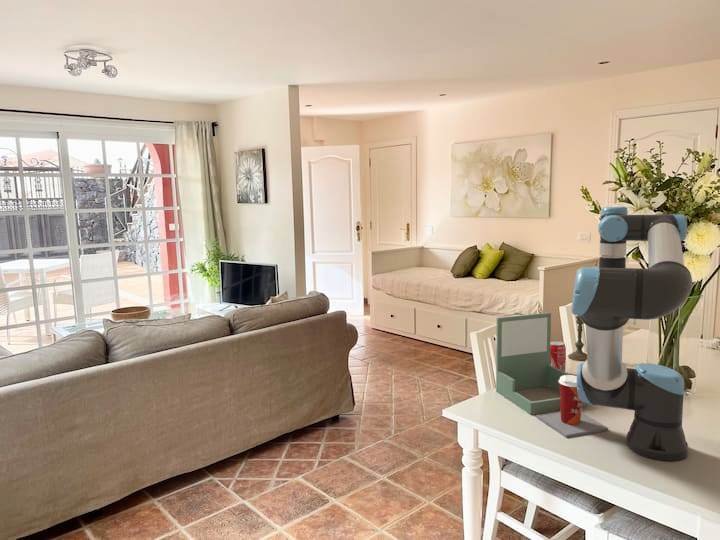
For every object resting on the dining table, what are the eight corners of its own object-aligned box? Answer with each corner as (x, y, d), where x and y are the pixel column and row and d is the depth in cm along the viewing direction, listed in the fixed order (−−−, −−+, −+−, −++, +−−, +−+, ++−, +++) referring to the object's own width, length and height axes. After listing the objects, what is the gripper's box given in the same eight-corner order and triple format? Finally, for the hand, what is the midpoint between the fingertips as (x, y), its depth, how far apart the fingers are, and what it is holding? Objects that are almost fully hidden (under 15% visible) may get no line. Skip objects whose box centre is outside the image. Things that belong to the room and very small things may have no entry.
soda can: (567, 372, 209) (567, 341, 207) (563, 378, 203) (563, 346, 201) (548, 370, 213) (549, 339, 211) (544, 375, 207) (545, 343, 205)
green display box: (587, 406, 176) (589, 325, 172) (530, 414, 170) (531, 332, 166) (547, 384, 197) (549, 312, 193) (496, 391, 191) (496, 317, 187)
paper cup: (580, 428, 157) (581, 384, 155) (554, 422, 162) (555, 379, 160) (586, 419, 163) (588, 377, 162) (561, 414, 168) (562, 372, 166)
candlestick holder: (589, 355, 230) (591, 289, 226) (591, 361, 222) (593, 293, 218) (567, 354, 233) (568, 288, 229) (568, 360, 224) (570, 292, 220)
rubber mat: (608, 430, 157) (608, 427, 157) (565, 437, 153) (566, 435, 153) (575, 411, 172) (575, 409, 172) (536, 417, 168) (536, 415, 168)
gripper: (657, 255, 160) (654, 322, 163) (570, 254, 171) (569, 316, 174) (659, 258, 153) (655, 328, 156) (568, 256, 164) (567, 321, 167)
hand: (610, 322), depth 165 cm, fingers open, 13 cm apart
